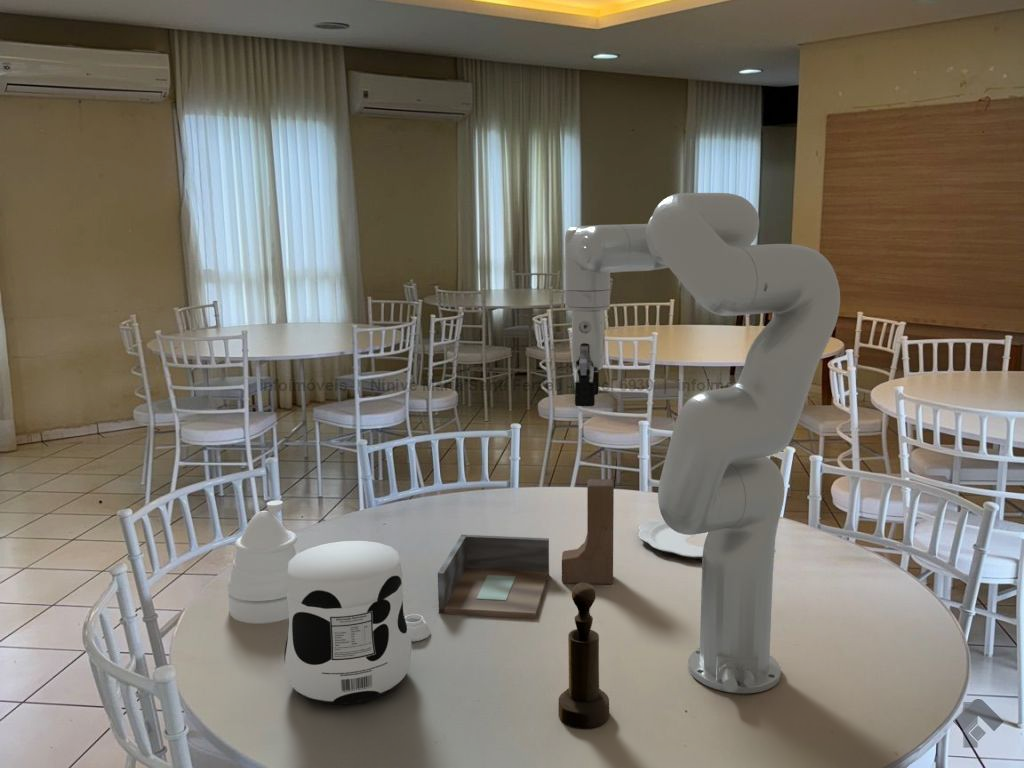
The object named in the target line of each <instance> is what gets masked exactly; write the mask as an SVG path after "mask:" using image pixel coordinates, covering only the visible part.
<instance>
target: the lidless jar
mask: <svg viewBox="0 0 1024 768" xmlns="http://www.w3.org/2000/svg"><path fill="white" fill-rule="evenodd" d="M404 618H405V621H406V624H407V627H408V630H409V633H410V637H411V642H419V641H422V640H425V639H426V638H428V637H429V636H430V634H431V629H430V627H429V625H428V624H427V622H426V620H424V616H423V615H420V614H417V613H415V614H408V615H406V616H404Z"/></svg>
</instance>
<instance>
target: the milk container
mask: <svg viewBox="0 0 1024 768" xmlns="http://www.w3.org/2000/svg"><path fill="white" fill-rule="evenodd" d="M403 587H404V586H403V572H402V564H401V560H400V556H399V552H398V551H397V550H396V549H394V548H393V547H392V546H390V545H386V544H384V543H381V542H376V541H375V542H374V541H365V540H343V541H336V542H330V543H329V542H327V543H324V544H320V545H317V546H313V547H309V548H306V549H305V550H303V551H301V552H298V554H296V555H295V556H294V557H293V558H292V559H291V560H290V561H289V564H288V572H287V592H288V593H287V603H288V612H289V618H288V629H287V630H288V632H287V635H286V640H285V646H284V654H283V656H284V658H283V659H284V667H285V672H286V675H287V679H288V682H289V683H290V685H291V686H292V688H293V689H294V690H295V692H297V694H299V695H300V696H303V697H305V698H306V699H309V700H312V701H313V702H316V703H317V702H319V703H324V704H328V705H341V704H342V705H344V704H345V705H347V704H350V705H351V704H356V703H359V702H365V701H369V700H373V699H375V698H378V697H379V696H382V695H384V694H387V693H389V692H390V691H391V690H393V689H394V688H396V687H397V686H398V685H399V684H400V683H401V682H402V681H403V680H404V679H405V677H406V675H407V673H408V671H409V669H410V664H411V658H412V641H411V637H410V633H409V630H408V627H407V624H406V621H405V618H404V617H405V614H404V588H403Z"/></svg>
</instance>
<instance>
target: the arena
mask: <svg viewBox="0 0 1024 768" xmlns="http://www.w3.org/2000/svg"><path fill="white" fill-rule="evenodd" d="M549 577H550V538H548V537H528V536H527V537H525V536H524V537H523V536H505V535H503V536H502V535H501V536H499V535H480V534H479V535H477V534H461V535H460V536H459V538H458V540H457V541H456V543H455V544H454V546H453V548H451V551H450V553H449V554H448V555H447V558H445V561H444V562H443V564H442V565H441V567H440V568H439V570H438V571H437V591H438V592H437V597H438V599H437V600H438V614H445V615H446V614H447V615H461V616H462V615H463V616H476V617H477V616H479V617H480V616H482V617H495V618H497V617H498V618H510V617H511V618H514V619H527V618H530V619H529V620H531V619H532V620H536V619H537V616H538V613H539V609H540V605H541V602H542V600H543V596H544V594H545V590H546V586H547V584H548V580H549ZM546 583H547V584H546Z"/></svg>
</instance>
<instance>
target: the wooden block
mask: <svg viewBox="0 0 1024 768" xmlns="http://www.w3.org/2000/svg"><path fill="white" fill-rule="evenodd" d="M586 485H587V486H586V487H587V488H586V489H587V492H586V493H587V495H586V496H587V505H586V506H587V507H586V508H587V510H586V511H587V513H586V514H587V515H586V517H587V520H586V521H587V522H586V523H587V525H586V526H587V529H586V531H587V533H586V537H585V540H584V542H583V543H582V544H581V545H580V546H579V547H578V548H575V549H574V548H573V549H569V550H563V551H562V552H561V553H562V555H561V583H562V584H578V583H588V584H590V585H612V584H614V512H615V511H614V506H615V505H614V502H615V501H614V494H615V493H614V490H615V488H614V481H613V479H611V478H609V479H608V478H607V479H602V478H597V479H594V478H593V479H592V478H589V479H588V480H587V484H586Z"/></svg>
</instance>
